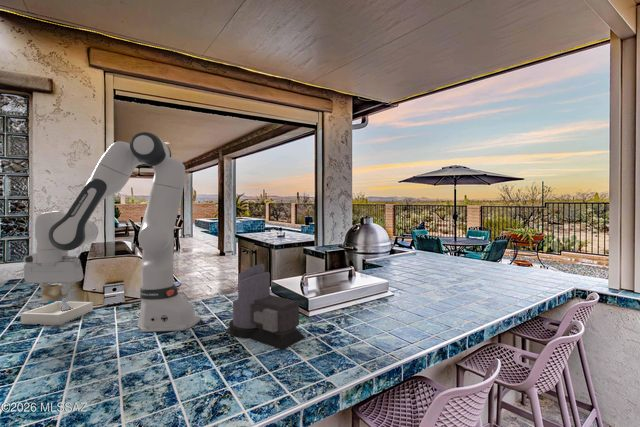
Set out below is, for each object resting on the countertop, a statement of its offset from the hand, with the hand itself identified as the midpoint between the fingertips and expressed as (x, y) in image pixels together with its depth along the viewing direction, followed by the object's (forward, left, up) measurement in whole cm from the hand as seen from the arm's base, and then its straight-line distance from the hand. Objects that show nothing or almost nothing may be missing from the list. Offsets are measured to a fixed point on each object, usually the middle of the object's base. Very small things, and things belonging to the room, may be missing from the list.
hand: (55, 294), depth 116 cm
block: (0, 0, -2) cm, 2 cm away
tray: (+12, -13, -13) cm, 22 cm away
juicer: (-75, -5, -14) cm, 77 cm away
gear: (+28, -29, -14) cm, 42 cm away
